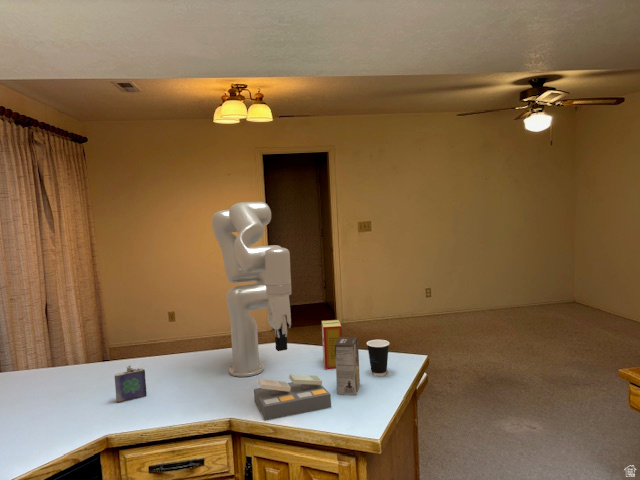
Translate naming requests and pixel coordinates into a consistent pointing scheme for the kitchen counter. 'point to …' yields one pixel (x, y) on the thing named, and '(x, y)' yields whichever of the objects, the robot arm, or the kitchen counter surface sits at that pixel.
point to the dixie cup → (378, 356)
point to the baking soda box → (330, 342)
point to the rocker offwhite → (273, 385)
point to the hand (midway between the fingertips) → (281, 349)
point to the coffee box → (347, 365)
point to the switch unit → (291, 400)
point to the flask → (130, 384)
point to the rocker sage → (305, 379)
